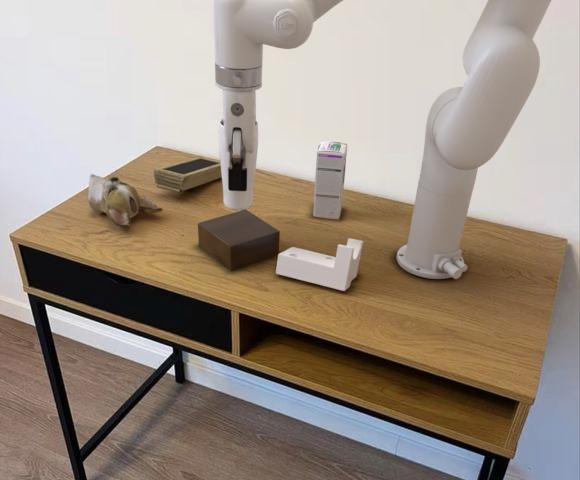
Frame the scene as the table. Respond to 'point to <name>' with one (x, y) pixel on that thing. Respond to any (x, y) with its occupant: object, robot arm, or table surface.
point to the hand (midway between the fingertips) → (238, 181)
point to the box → (187, 174)
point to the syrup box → (329, 179)
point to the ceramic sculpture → (117, 200)
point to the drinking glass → (245, 198)
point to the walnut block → (238, 239)
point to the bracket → (322, 265)
